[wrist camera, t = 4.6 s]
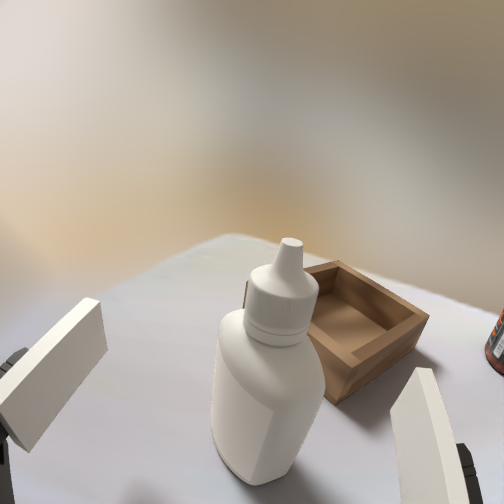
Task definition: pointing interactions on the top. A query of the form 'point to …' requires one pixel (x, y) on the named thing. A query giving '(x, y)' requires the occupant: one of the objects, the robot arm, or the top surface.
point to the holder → (358, 328)
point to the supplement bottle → (496, 346)
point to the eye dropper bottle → (267, 371)
